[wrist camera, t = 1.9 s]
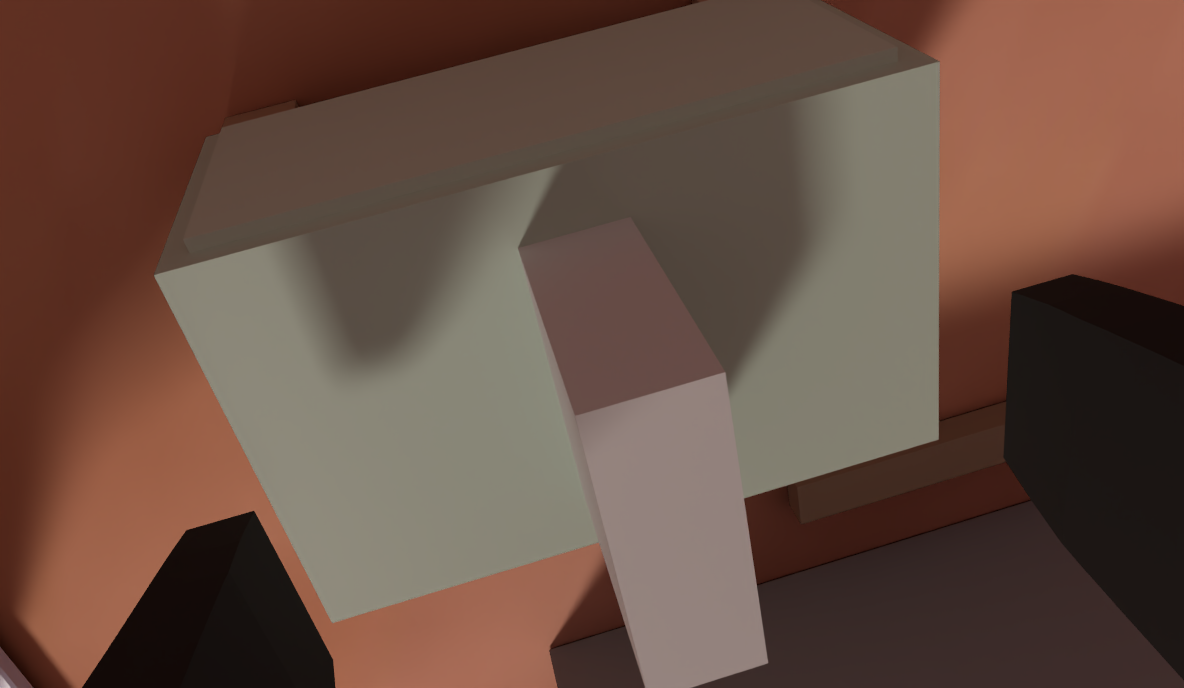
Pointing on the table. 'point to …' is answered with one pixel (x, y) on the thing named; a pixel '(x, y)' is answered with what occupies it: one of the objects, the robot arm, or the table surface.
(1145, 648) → the wall board
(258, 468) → the grey block
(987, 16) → the table surface
